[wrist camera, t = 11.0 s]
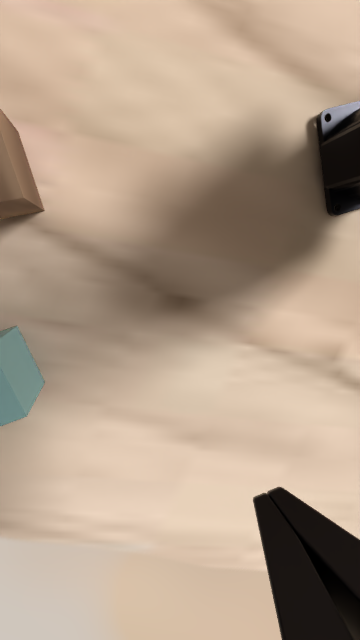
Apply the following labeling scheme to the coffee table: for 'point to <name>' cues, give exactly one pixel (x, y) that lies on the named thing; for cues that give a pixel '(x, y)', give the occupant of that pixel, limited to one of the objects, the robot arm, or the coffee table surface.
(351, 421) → the coffee table surface
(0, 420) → the teal block
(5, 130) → the walnut block
